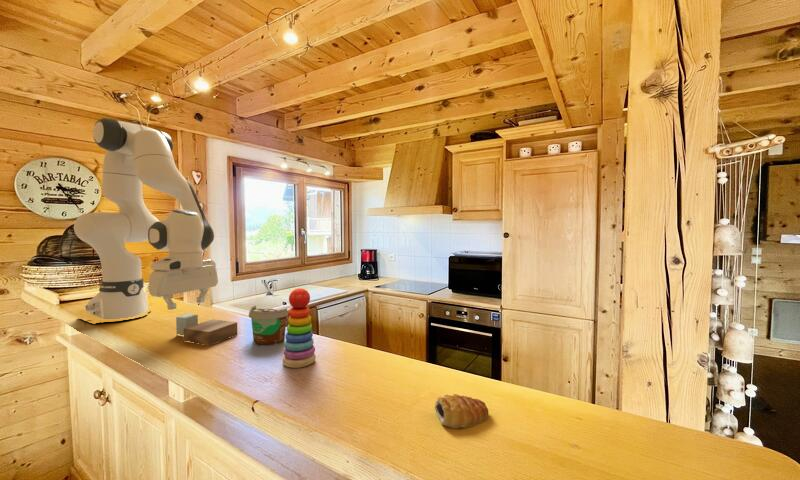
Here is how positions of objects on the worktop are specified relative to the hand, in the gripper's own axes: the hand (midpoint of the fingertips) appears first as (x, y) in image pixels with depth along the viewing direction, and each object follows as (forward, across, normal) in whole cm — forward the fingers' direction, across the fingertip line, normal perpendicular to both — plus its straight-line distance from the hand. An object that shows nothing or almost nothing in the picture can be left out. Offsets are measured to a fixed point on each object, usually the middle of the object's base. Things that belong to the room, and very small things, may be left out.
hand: (186, 305), depth 100 cm
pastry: (+10, +16, +87) cm, 89 cm away
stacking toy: (+10, +6, +46) cm, 47 cm away
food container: (+10, -2, +28) cm, 30 cm away
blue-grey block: (+9, 0, 0) cm, 9 cm away
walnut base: (+9, 0, +10) cm, 14 cm away
